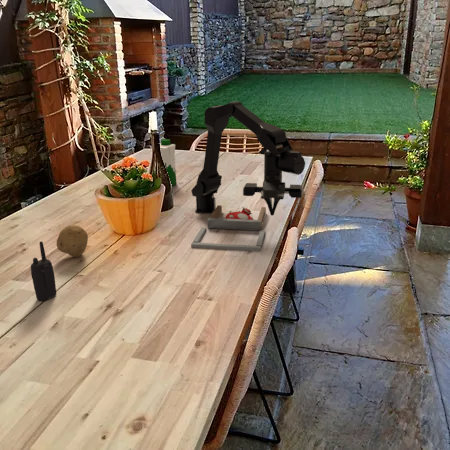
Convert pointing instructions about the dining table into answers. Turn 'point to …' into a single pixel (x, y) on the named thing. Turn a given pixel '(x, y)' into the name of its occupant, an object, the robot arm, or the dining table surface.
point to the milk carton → (169, 159)
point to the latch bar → (234, 224)
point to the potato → (72, 240)
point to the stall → (219, 210)
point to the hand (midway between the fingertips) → (272, 215)
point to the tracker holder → (240, 214)
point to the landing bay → (227, 246)
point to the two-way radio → (43, 277)
